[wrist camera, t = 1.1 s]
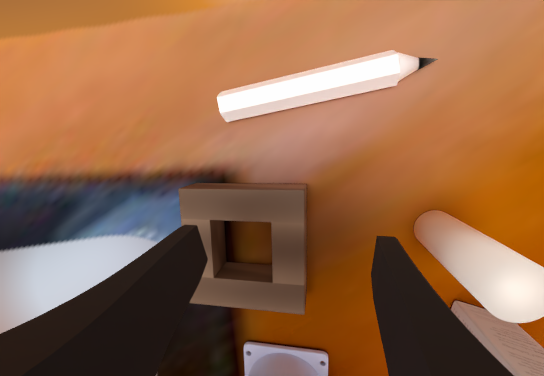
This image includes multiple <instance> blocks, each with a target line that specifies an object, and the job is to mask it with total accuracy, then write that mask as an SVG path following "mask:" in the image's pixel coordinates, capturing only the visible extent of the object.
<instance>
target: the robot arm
mask: <svg viewBox="0 0 544 376" xmlns="http://www.w3.org/2000/svg"><path fill="white" fill-rule="evenodd" d="M207 261H208V258H207V255H206V251H205V248H204V245H203V242H202V239H201V236H200V233H199V230H198V227H197V225H183V226H181V227H180V228H178V229H177V230H175V231H174V232H173V233H171V234H170V235H169V236H167V237H166V238H164V239H163V240H162V241H160V242H159V243H158V244H156V245H155V246H154V247H152V248H151V249H149V250H148V251H147V252H145V253H144V254H142V255H141V256H140V257H138V258H137V259H135V260H134V261H132V262H131V263H130V264H128V265H127V266H125V267H124V268H122V269H121V270H119V271H118V272H116V273H115V274H113V275H112V276H110V277H109V278H107V279H106V280H104V281H102V282H101V283H99V284H97V285H96V286H94V287H92V288H90V289H89V290H87V291H85V292H84V293H82V294H80V295H78V296H77V297H75V298H73V299H71V300H69V301H67V302H65V303H64V304H61V305H59V306H58V307H56V308H54V309H52V310H50V311H48V312H46V313H44V314H42V315H40V316H38V317H36V318H34V319H32V320H30V321H28V322H25V323H23V324H21V325H19V326H17V327H15V328H12V329H10V330H8V331H6V332H3V333H1V334H0V376H156V373H157V371H158V368H159V366H160V363H161V361H162V358H163V356H164V353H165V351H166V349H167V346H168V344H169V342H170V340H171V337H172V335H173V333H174V331H175V329H176V327H177V325H178V323H179V322H180V320H181V318H182V316H183V314H184V312H185V310H186V308H187V306H188V304H189V302H190V300H191V299H192V297H193V295H194V293H195V291H196V289H197V287H198V285H199V283H200V280H201V278H202V275H203V273H204V270H205V267H206V264H207ZM371 278H372V289H373V299H374V305H375V310H376V315H377V320H378V324H379V329H380V334H381V339H382V344H383V348H384V353H385V358H386V363H387V368H388V373H389V376H514V375H513V374H512V373H511V372H510V371H509V370H508V369H507V368H506V367H505V366H504V365H503V364H502V363H501V362H500V361H499V360H498V359H496V358H495V357H494V356H493V355H492V354H491V353H490V352H489V351H488V350H487V348H486V347H485V346H484V345H483V344H482V343H481V342H480V341H479V340H478V339H477V338H476V337H475V336H474V335H473V334H472V333H471V332H470V331H469V330H468V329H467V327H466V326H465V325H464V324H463V323H462V322H461V321H460V320H459V319H458V317H457V316H456V315H455V314H454V313H453V312H452V311H451V309H450V308H449V307H448V306H447V305H446V304H445V302H444V301H443V300H442V299H441V298H440V296H439V295H438V294H437V293H436V292H435V290H434V289H433V288H432V286H431V285H430V284H429V283H428V281H427V280H426V279H425V278H424V276H423V275H422V274H421V272H420V271H419V270H418V268H417V267H416V266H415V264H414V263H413V261H412V260H411V259H410V257H409V256H408V254H407V253H406V251H405V250H404V248H403V247H402V245H401V244H400V242H399V241H398V239H396V238H395V237H386V236H377V239H376V245H375V252H374V259H373V265H372V272H371ZM248 351H250V352H251V353H249V352H248ZM321 361H324V363H322V362H321ZM244 367H245V376H328V354H327V353H326V352H324V351H319V350H311V349H303V348H295V347H287V346H280V345H272V344H264V343H256V342H246V343H245V345H244Z"/></svg>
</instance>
